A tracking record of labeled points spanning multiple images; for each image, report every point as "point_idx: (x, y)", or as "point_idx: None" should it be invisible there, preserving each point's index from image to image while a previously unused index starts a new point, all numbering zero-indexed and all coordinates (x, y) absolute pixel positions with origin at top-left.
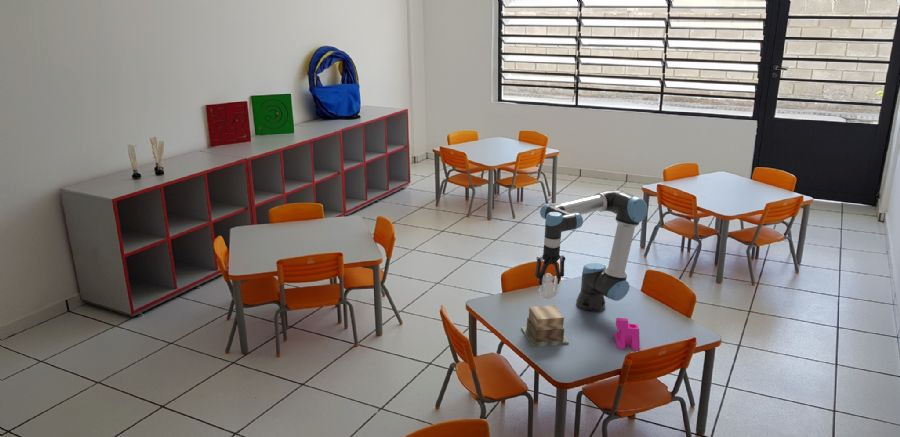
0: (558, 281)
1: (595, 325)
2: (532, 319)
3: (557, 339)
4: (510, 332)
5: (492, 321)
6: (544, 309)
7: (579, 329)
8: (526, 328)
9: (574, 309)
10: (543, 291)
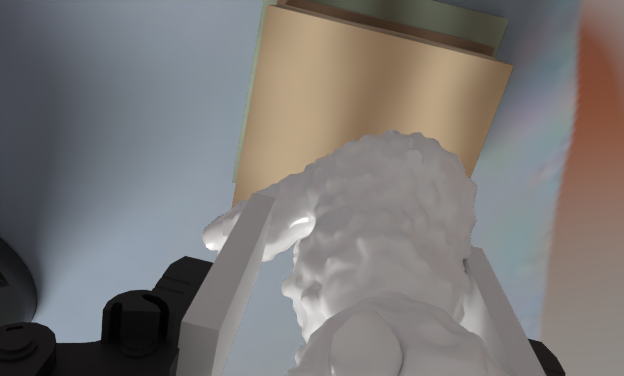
0: (180, 286)
1: (19, 97)
2: None
3: (329, 5)
4: (510, 214)
5: None
6: None
7: (126, 93)
8: None
9: (62, 279)
10: (468, 238)
